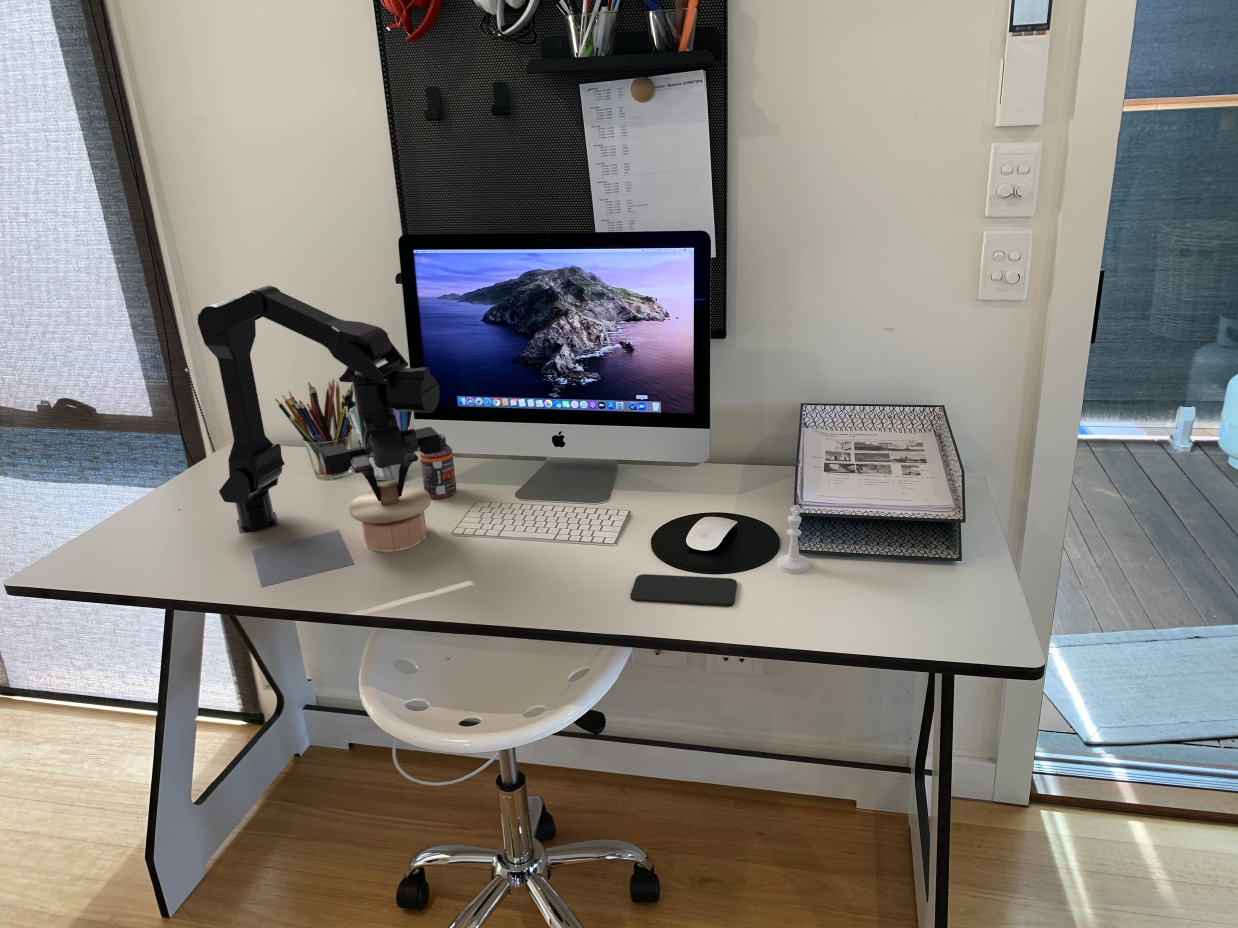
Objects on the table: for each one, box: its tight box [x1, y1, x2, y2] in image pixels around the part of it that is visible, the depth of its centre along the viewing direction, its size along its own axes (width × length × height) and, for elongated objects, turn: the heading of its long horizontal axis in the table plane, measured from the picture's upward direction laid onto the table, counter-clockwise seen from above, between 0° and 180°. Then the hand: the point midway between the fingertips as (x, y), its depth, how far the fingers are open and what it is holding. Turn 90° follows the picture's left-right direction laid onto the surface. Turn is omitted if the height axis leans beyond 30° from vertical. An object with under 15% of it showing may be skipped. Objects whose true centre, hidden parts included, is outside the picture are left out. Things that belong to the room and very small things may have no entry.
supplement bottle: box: [419, 433, 457, 500], centre depth 165 cm, size 6×6×11 cm
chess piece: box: [776, 504, 811, 574], centre depth 134 cm, size 5×5×10 cm
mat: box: [251, 529, 355, 588], centre depth 145 cm, size 14×14×1 cm
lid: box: [348, 480, 432, 523], centre depth 147 cm, size 13×13×4 cm
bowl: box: [360, 511, 428, 553], centre depth 149 cm, size 10×10×5 cm
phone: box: [629, 573, 738, 608], centre depth 131 cm, size 7×1×15 cm
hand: (389, 498), depth 147 cm, fingers closed on lid, 3 cm apart
